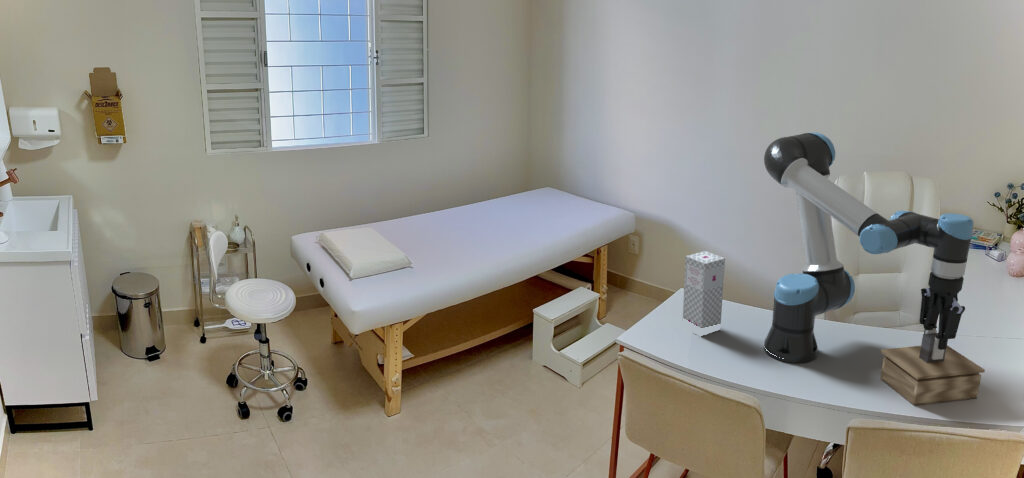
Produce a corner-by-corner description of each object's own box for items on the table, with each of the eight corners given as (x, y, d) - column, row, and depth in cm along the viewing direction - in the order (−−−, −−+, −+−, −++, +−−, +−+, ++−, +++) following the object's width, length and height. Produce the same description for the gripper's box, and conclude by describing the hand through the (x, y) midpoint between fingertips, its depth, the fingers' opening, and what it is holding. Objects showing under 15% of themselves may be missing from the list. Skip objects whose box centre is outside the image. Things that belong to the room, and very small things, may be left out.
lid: (916, 381, 183) (921, 352, 180) (880, 354, 197) (884, 326, 194) (983, 374, 186) (990, 345, 183) (943, 347, 200) (948, 320, 197)
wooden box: (914, 405, 186) (918, 382, 184) (880, 378, 199) (883, 356, 197) (976, 398, 188) (981, 374, 186) (939, 372, 201) (943, 350, 199)
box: (682, 327, 234) (685, 256, 226) (701, 321, 238) (705, 250, 230) (700, 337, 227) (705, 263, 219) (720, 330, 231) (725, 258, 223)
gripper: (984, 284, 176) (967, 368, 183) (938, 261, 191) (924, 340, 199) (956, 287, 175) (940, 371, 183) (912, 263, 190) (899, 342, 198)
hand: (932, 355), depth 191 cm, fingers closed on lid, 3 cm apart
